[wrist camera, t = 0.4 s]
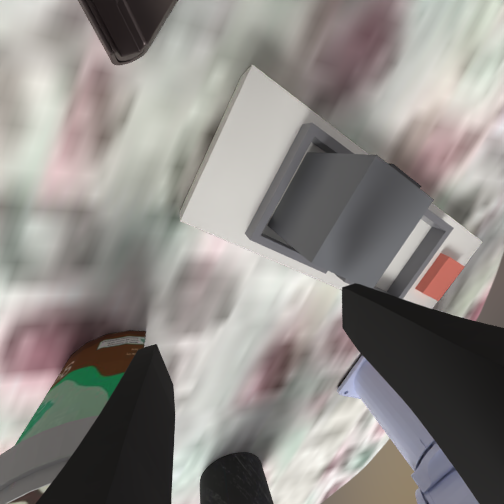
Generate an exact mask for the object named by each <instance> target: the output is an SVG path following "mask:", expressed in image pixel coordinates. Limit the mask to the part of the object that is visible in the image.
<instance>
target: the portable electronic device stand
mask: <svg viewBox="0 0 504 504" xmlns="http://www.w3.org/2000/svg"><path fill="white" fill-rule="evenodd" d="M78 1H79V3H80V5H81V7H82V9H83V10H84V12H85V14H86V16H87V18H88V20H89V21H90V23H91V25H92V27H93V29H94V31H95V32H96V34H97V36H98V38H99V40H100V41H101V43H102V45H103V47H104V49H105V51H106V52H107V54H108V56H109V58H110V60H111V62H112V63H113V64H114V65H123V64H128V63H130V62H133V61H135V60H137V59H139V58H140V57H142V56H143V55H144V54H145V53H146V52H147V50H148V49H149V47H150V46H151V44H152V42H153V41H154V39H155V37H156V36H157V34H158V32H159V31H160V29H161V27H162V26H163V24H164V22H165V21H166V19H167V18H168V16H169V14H170V13H171V11H172V9H173V8H174V6H175V4H176V3H177V1H178V0H78Z"/></svg>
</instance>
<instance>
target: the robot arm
mask: <svg viewBox="0 0 504 504" xmlns="http://www.w3.org/2000/svg"><path fill="white" fill-rule="evenodd" d="M342 319H343V329H344V331H345V332H346V334H347V335H348V336H349V338H350V339H351V341H352V342H353V344H354V345H355V346H356V348H357V349H358V350H359V352H360V353H361V354H362V356H361V357H360V359H359V360H358V361H357V363H356V364H355V366H354V367H353V368H352V370H351V371H350V373H349V374H348V375H347V377H346V378H345V379H344V381H343V382H342V384H341V385H340V386H339V388H338V390H337V392H338V393H339V395H343V396H348V397H354V398H359V399H361V400H362V401H363V402H364V404H365V405H366V406H367V408H368V409H369V410H370V412H371V413H372V414H373V416H374V417H375V419H376V420H377V421H378V423H379V424H380V425H381V427H382V428H383V429H384V431H385V432H386V434H387V435H388V436H389V438H390V439H391V440H392V441H393V443H394V444H395V446H396V447H397V448H398V450H399V451H400V453H401V454H402V455H403V457H404V458H405V459H406V461H407V462H408V463H409V465H410V466H411V467H412V469H413V470H414V473H413V474H412V475H411V476H412V478H413V479H414V481H415V482H416V484H417V485H418V487H419V488H418V489H417V490H416V493H415V494H416V499H417V504H504V328H501V327H497V326H492V325H488V324H484V323H480V322H476V321H472V320H468V319H464V318H461V317H457V316H454V315H450V314H447V313H444V312H440V311H437V310H434V309H430V308H427V307H424V306H421V305H418V304H415V303H412V302H409V301H407V300H404V299H401V298H398V297H395V296H392V295H390V294H387V293H384V292H381V291H378V290H376V289H373V288H370V287H367V286H364V285H361V284H357V283H354V284H351V285H348V286H345V287H342ZM174 431H175V403H174V389H173V383H172V381H171V378H170V376H169V373H168V371H167V369H166V366H165V364H164V361H163V359H162V356H161V354H160V351H159V349H158V347H157V344H155V345H151V346H148V347H145V348H142V349H138V351H137V352H136V354H135V356H134V357H133V359H132V361H131V362H130V364H129V366H128V368H127V369H126V371H125V373H124V375H123V376H122V378H121V380H120V381H119V383H118V385H117V386H116V388H115V390H114V391H113V393H112V395H111V396H110V398H109V400H108V401H107V403H106V405H105V406H104V408H103V409H102V411H101V413H100V414H99V416H98V417H97V419H96V420H95V422H94V423H93V425H92V426H91V428H90V429H89V431H88V432H87V434H86V435H85V437H84V438H83V440H82V441H81V443H80V444H79V446H78V447H77V449H76V450H75V452H74V453H73V454H72V456H71V457H70V459H69V460H68V461H67V463H66V464H65V466H64V467H63V468H62V470H61V471H60V472H59V474H58V475H57V476H56V478H55V479H54V480H53V482H52V483H51V484H50V486H49V487H48V488H47V490H46V491H45V492H44V493H43V495H42V496H41V497H40V499H39V500H38V501H37V502H36V504H171V491H172V471H173V452H174Z"/></svg>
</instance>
